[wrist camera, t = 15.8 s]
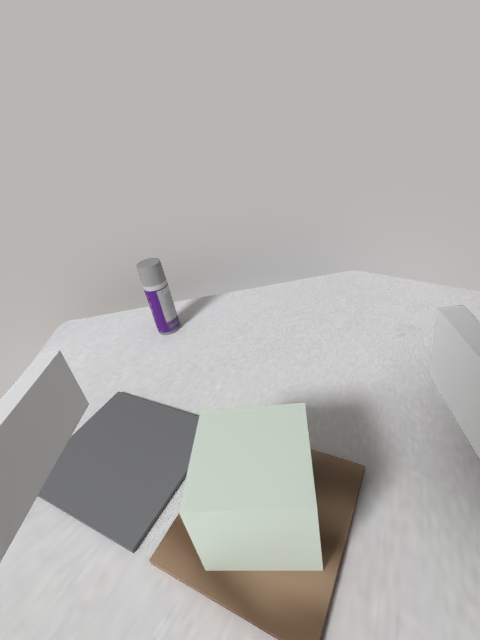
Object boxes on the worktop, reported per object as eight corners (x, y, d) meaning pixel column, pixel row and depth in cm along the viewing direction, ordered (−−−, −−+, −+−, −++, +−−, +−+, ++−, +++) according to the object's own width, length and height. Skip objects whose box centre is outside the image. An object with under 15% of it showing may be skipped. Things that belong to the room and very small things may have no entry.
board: (235, 430, 49) (234, 426, 48) (364, 470, 41) (364, 465, 40) (151, 563, 36) (149, 560, 36) (315, 661, 28) (314, 658, 27)
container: (154, 331, 75) (130, 265, 67) (171, 320, 78) (150, 256, 70) (167, 337, 72) (145, 269, 64) (184, 325, 75) (165, 259, 67)
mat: (119, 393, 59) (118, 391, 59) (220, 425, 50) (219, 422, 50) (22, 486, 47) (21, 484, 46) (133, 553, 37) (132, 550, 37)
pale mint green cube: (219, 468, 43) (200, 409, 38) (311, 464, 41) (304, 402, 36) (205, 570, 34) (178, 511, 29) (323, 570, 32) (317, 508, 27)
